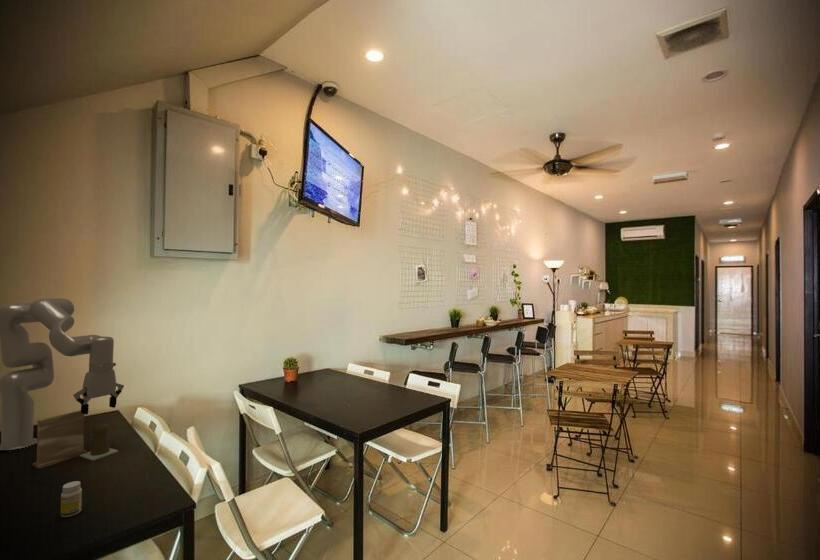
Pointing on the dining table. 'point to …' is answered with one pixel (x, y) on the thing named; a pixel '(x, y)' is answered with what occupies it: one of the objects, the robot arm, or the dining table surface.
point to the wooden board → (60, 439)
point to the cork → (100, 440)
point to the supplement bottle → (71, 499)
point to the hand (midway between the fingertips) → (99, 410)
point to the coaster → (90, 457)
